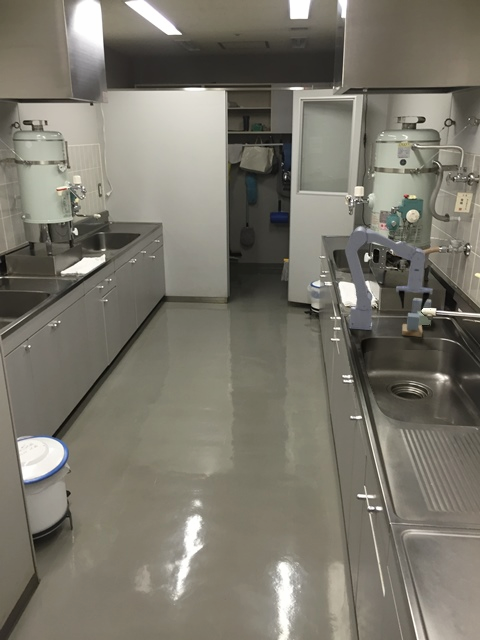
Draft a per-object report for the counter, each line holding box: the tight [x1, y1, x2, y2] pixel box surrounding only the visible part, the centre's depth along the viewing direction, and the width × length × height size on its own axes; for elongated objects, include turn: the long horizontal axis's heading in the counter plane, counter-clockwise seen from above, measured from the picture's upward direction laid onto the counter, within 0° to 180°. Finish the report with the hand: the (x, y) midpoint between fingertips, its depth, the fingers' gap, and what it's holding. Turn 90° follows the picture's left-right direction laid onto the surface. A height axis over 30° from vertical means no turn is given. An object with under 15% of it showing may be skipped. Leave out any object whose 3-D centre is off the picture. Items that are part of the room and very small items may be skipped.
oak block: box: [401, 323, 423, 338], centre depth 224 cm, size 8×8×2 cm
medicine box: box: [410, 297, 432, 314], centre depth 239 cm, size 8×4×9 cm, turn 65°
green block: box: [417, 311, 432, 325], centre depth 233 cm, size 5×6×5 cm
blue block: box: [406, 312, 419, 331], centre depth 223 cm, size 4×4×6 cm
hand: (412, 308), depth 223 cm, fingers open, 7 cm apart
